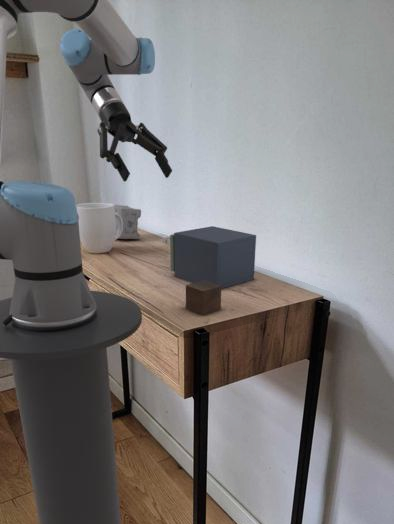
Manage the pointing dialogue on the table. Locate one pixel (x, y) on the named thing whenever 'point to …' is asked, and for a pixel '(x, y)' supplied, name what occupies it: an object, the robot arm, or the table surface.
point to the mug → (98, 226)
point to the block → (203, 297)
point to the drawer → (171, 241)
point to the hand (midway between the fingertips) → (148, 176)
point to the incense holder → (128, 221)
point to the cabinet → (214, 256)
